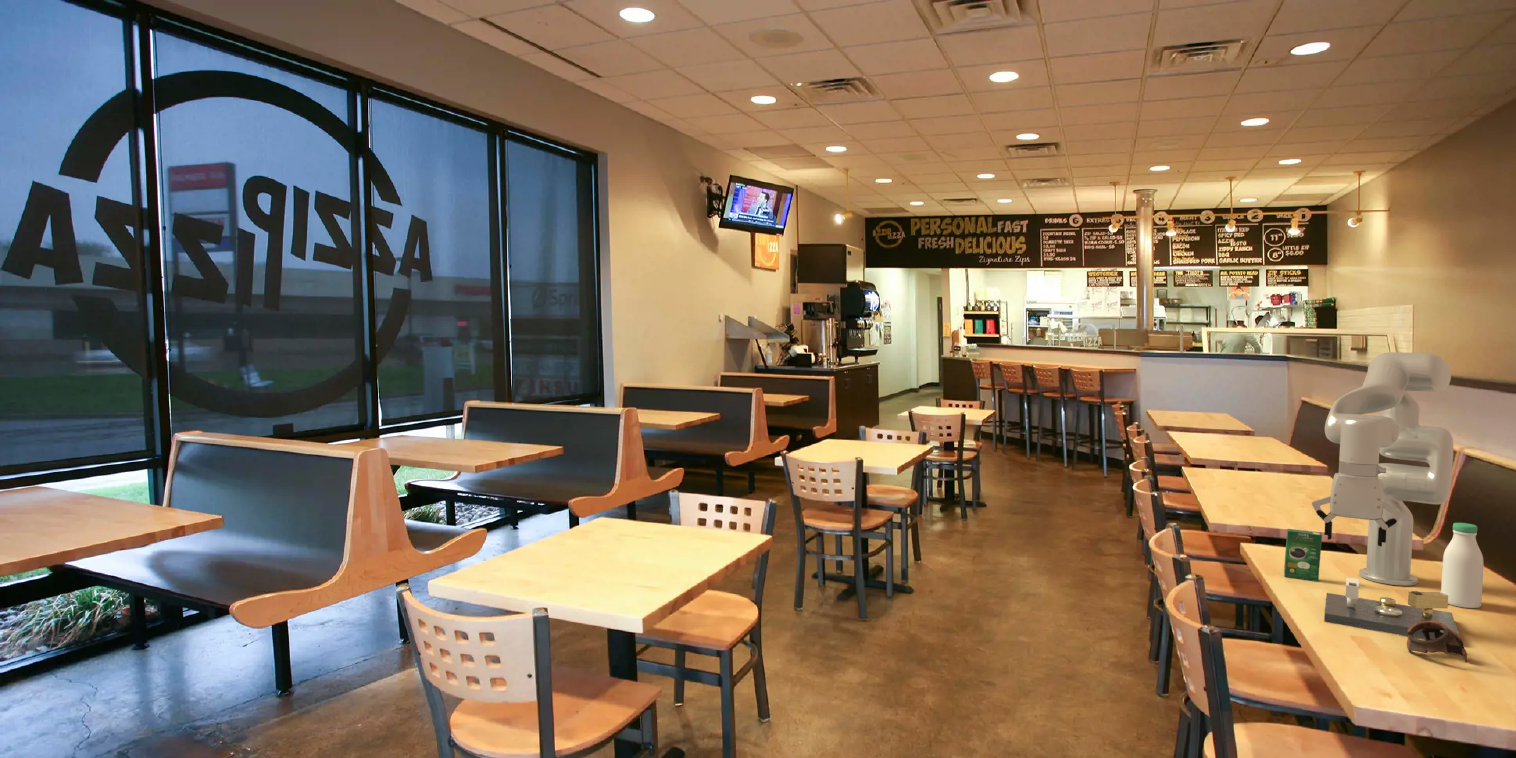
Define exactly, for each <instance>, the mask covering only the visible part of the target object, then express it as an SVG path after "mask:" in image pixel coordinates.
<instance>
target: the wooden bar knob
mask: <svg viewBox="0 0 1516 758" xmlns="http://www.w3.org/2000/svg"><path fill="white" fill-rule="evenodd" d="M1407 596H1408V597H1407V599H1408V600H1407V606H1412V607H1415V608H1422V618H1424V619H1432V612H1433V610H1434V609H1446V610H1448V607H1449V606H1448V605H1449V604H1448V595H1446V594H1443V593H1441V591H1417V590H1411V591H1408V595H1407Z"/></svg>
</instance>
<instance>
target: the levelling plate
mask: <svg viewBox="0 0 1516 758" xmlns="http://www.w3.org/2000/svg"><path fill="white" fill-rule="evenodd" d="M1396 602H1397V601H1396V599H1394V598H1392V597H1388V596H1381V597H1379V600H1375V599H1374V600H1373V599H1369V598H1362V597H1358V599H1356V607H1351V606H1347V598H1346V595H1342V594H1336V593H1331V592H1326V598H1325V606H1324V617H1323V618H1324V620H1323V621H1324V622H1325V623H1331V624H1337V625H1343V626H1347V627H1354V628H1359V629H1364V630H1369V631H1376V632H1380V633H1387V634H1391V635H1397V634H1399V636H1404V637H1408V636H1409V634H1408V633H1407V631H1408V629H1409V628H1410V627H1411V626H1412V625H1414V624H1416V623H1419V622H1423V621H1428V620H1432V621H1437V622H1441V623H1443V624H1445V625H1446V626H1447V627H1448V628H1449V629H1451V630H1453V631H1454V632H1455V633H1457V634H1458V635H1459V637H1460V638H1461V635H1460V633H1459V630H1458V627H1457V625H1456V621H1455V619H1454V616H1453V615H1454V614H1453V613H1452V612H1449V611H1444V610H1443V611H1442V610H1438V609H1437V610H1436V609H1433V612H1432V619H1424V618H1422V608H1415V607H1412V606H1410V605H1408V604H1407V605H1405V604H1399V603H1396ZM1421 630H1422V629H1421ZM1421 630H1418V631H1416V632H1415V633H1414V634H1413V635H1412V636H1413V637H1415V638H1416V639H1420V638H1421V639H1420V640H1426V639H1425V636H1424V635H1423V633H1422V632H1421ZM1440 632H1442V633H1444V631H1443V630H1440Z"/></svg>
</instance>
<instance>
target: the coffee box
mask: <svg viewBox="0 0 1516 758" xmlns="http://www.w3.org/2000/svg"><path fill="white" fill-rule="evenodd" d="M1322 538H1323V535H1322V533H1321V532H1316V531H1308V530H1299V529H1292V528H1287V529H1286V540H1285V541H1286V542H1285V543H1286V544H1285V555H1284V570H1283V574H1284V575H1283V576H1284V577H1285V578H1286V577H1287V578H1291V579H1299V580H1306V581H1313V582H1319V580H1320V576H1319V575H1320V561H1321V553H1322V540H1323V539H1322Z"/></svg>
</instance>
